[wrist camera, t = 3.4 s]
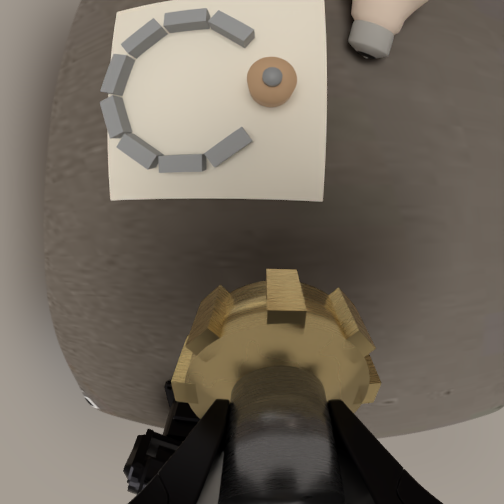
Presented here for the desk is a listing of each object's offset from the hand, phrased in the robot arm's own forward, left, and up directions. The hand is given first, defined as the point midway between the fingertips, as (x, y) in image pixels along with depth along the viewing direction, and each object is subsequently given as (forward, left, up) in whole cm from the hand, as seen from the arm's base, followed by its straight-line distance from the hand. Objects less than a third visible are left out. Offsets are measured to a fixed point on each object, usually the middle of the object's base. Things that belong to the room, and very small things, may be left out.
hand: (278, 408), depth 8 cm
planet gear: (0, 0, -3) cm, 3 cm away
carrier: (+11, +4, -13) cm, 18 cm away
